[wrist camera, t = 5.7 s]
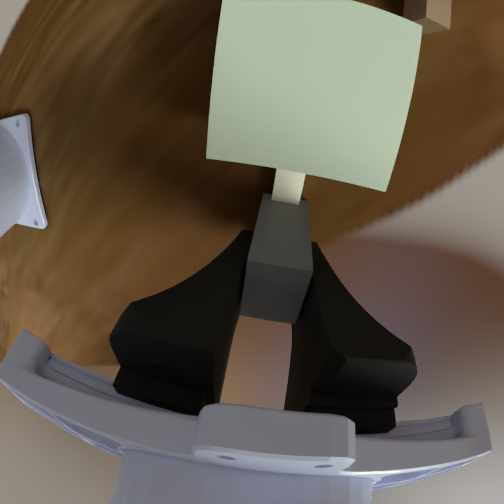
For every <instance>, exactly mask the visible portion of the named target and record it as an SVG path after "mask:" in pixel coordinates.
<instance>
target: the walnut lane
mask: <svg viewBox="0 0 504 504" xmlns="http://www.w3.org/2000/svg"><path fill="white" fill-rule="evenodd" d="M403 18H405V19H408V20H410V21H412V22H415V23H417V24H419V25H421V26H422V35H425V34H429V33H434V32H439V31H444V30H449V29H450V20H451V0H404V9H403Z"/></svg>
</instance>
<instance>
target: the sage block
mask: <svg viewBox="0 0 504 504" xmlns="http://www.w3.org/2000/svg"><path fill="white" fill-rule="evenodd" d="M421 34H422V26H421V25H419V24H417V23H415V22H412V21H410V20H408V19H405V18H403V17H400V16H398V15H395V14H392V13H390V12H387V11H384V10H381V9H378V8H375V7H372V6H369V5H366V4H363V3H359V2H356V1H352V0H222V7H221V13H220V20H219V28H218V35H217V43H216V51H215V60H214V69H213V78H212V88H211V99H210V111H209V123H208V137H207V152H206V159H214V160H223V161H231V162H238V163H245V164H252V165H259V166H265V167H271V168H277V169H276V175H275V181H274V187H273V193H272V194H266V193H263V197H262V201H261V205H260V210H259V214H258V218H257V222H256V226H255V230H254V234H253V238H252V243H251V247H250V251H249V255H248V259H247V266H246V273H245V281H244V288H243V296H242V303H241V311H240V315H242V316H247V317H253V318H259V319H265V320H271V321H277V322H283V323H290V324H295V323H296V321H297V318H298V315H299V312H300V309H301V306H302V304H303V301H304V298H305V295H306V292H307V289H308V286H309V283H310V280H311V277H312V274H313V259H312V246H311V234H310V223H309V212H308V202H307V201H305V200H300V198H301V193H302V188H303V184H304V179H305V174H310V175H315V176H320V177H324V178H329V179H334V180H338V181H343V182H347V183H351V184H356V185H360V186H364V187H368V188H372V189H376V190H380V191H383V192H386V189H387V186H388V183H389V180H390V176H391V173H392V170H393V167H394V163H395V160H396V156H397V153H398V149H399V146H400V142H401V138H402V134H403V130H404V126H405V122H406V118H407V114H408V110H409V105H410V100H411V96H412V91H413V86H414V80H415V75H416V69H417V63H418V57H419V50H420V42H421Z"/></svg>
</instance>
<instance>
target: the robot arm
mask: <svg viewBox="0 0 504 504" xmlns="http://www.w3.org/2000/svg"><path fill="white" fill-rule="evenodd" d="M15 223H17V224H21V225H26V226H30V227H35V228H40V229H44V228H45V227H46V226H47V218H46V215H45V211H44V206H43V202H42V198H41V193H40V188H39V183H38V178H37V172H36V166H35V160H34V153H33V145H32V136H31V126H30V117H29V115H28V114H27V113H24V114H19V115H15V116H11V117H8V118H4V119H1V120H0V237H1V236H2V235H3V234H4V233H5V232H6V231H7V230H9V229H10V228H11V227H12V226H13V225H14V224H15ZM253 234H254V231H249V230H242V231H241V232H240V233H239V234H238V236H237V237H236V238H235V239H234V240H233V241H232V243H231V244H230V245H229V246H228V247H227V248H226V249H225V250H224V251H223V252H222V253H221V254H220V255H218V256H217V257H216V258H215V259H214V260H213V261H211V262H210V263H209V264H208V265H207V266H205V267H204V268H203V269H201V270H200V271H198V272H197V273H195V274H194V275H193V276H191V277H189V278H188V279H186V280H184V281H183V282H181V283H179V284H177V285H175V286H173V287H171V288H169V289H167V290H164V291H162V292H160V293H157V294H155V295H152V296H149V297H146V298H143V299H140V300H137V301H134V302H131V303H130V304H129V306H128V307H127V308H126V309H125V311H124V312H123V313H122V315H121V316H120V318H119V320H118V322H117V323H116V325H115V327H114V329H113V330H112V332H111V334H110V339H109V340H110V344H111V347H112V349H113V351H114V354H115V356H116V358H117V360H118V362H119V364H120V366H121V367H120V369H119V372H118V374H117V376H116V378H115V380H112V379H110V378H107V377H105V376H102V375H99V374H97V373H95V372H92V371H90V370H87V369H85V368H83V367H81V366H78V365H76V364H74V363H72V362H70V361H67V360H65V359H63V358H61V357H59V356H57V355H55V354H53V353H52V352H51V350H50V348H49V347H48V345H47V344H46V343H45V342H44V341H43V340H42V339H40V338H39V337H37V336H35V335H33V334H31V333H29V332H27V331H26V330H22V332H21V333H20V335H19V336H18V338H17V339H16V341H15V342H14V344H13V345H12V347H11V348H10V350H9V352H8V353H7V355H6V357H5V358H4V360H3V361H2V363H1V365H0V381H1V382H2V383H3V384H4V385H5V386H6V387H7V388H8V389H9V390H10V391H11V392H12V393H13V394H15V396H17V397H18V398H19V399H20V400H21V401H22V402H23V403H24V404H26V405H27V406H28V407H30V408H31V409H33V410H34V411H36V412H37V413H39V414H40V415H42V416H43V417H45V418H47V419H48V420H50V421H51V422H53V423H55V424H56V425H58V426H59V427H61V428H63V429H64V430H66V431H68V432H70V433H71V434H73V435H75V436H77V437H79V438H80V439H82V440H84V441H86V442H88V443H90V444H92V445H94V446H96V447H98V448H100V449H102V450H104V451H106V452H108V453H111V454H113V455H115V456H117V457H120V458H122V459H123V461H122V463H121V467H120V470H119V473H118V476H117V479H116V482H115V485H114V489H113V492H112V496H111V499H110V502H109V504H371V503H372V490H375V489H382V488H387V487H392V486H397V485H401V484H406V483H410V482H414V481H418V480H422V479H426V478H430V477H433V476H436V475H439V474H443V473H446V472H449V471H453V470H455V469H457V468H460V467H462V466H464V465H466V464H468V463H470V462H472V461H474V460H476V459H478V458H480V457H482V456H484V455H485V454H487V453H489V452H491V450H492V446H491V440H490V434H489V430H488V425H487V420H486V416H485V411H484V407H483V403H481V402H480V403H475V404H470V405H466V406H463V407H461V408H460V409H458V410H457V411H455V412H454V413H453V414H452V415H449V416H443V417H436V418H429V419H421V420H413V421H402V422H396V420H395V412H394V408H396V407H397V406H398V401H397V396H398V395H399V394H400V393H402V392H403V391H404V390H405V389H406V388H407V387H408V386H409V385H410V384H411V383H412V381H413V380H414V379H415V378H416V375H417V366H416V362H415V358H414V355H413V351H412V348H411V346H409V345H408V344H406V343H405V342H403V341H402V340H400V339H399V338H398V337H396V336H395V335H393V334H392V333H391V332H389V331H388V330H387V329H386V328H384V327H383V326H382V325H381V324H380V323H378V322H377V321H376V320H375V319H374V318H373V317H372V316H371V315H369V314H368V312H366V311H365V309H363V308H362V307H361V305H360V304H359V303H357V301H356V300H355V299H354V298H353V296H352V295H351V294H350V293H349V292H348V290H347V289H346V288H345V287H344V285H343V284H342V283H341V281H340V280H339V279H338V277H337V276H336V274H335V273H334V271H333V269H332V268H331V266H330V265H329V263H328V261H327V260H326V258H325V256H324V255H323V253H322V251H321V249H320V248H319V246H318V244H317V243H316V242H312V241H311V246H312V259H313V274H312V277H311V280H310V283H309V286H308V289H307V292H306V295H305V298H304V301H303V304H302V306H301V309H300V312H299V315H298V318H297V321H296V323H295V324H292V350H291V359H290V368H289V376H288V384H287V392H286V398H285V405H284V410H276V409H269V408H261V407H255V406H247V405H242V404H230V403H220V398H221V393H222V388H223V383H224V378H225V373H226V368H227V364H228V359H229V353H230V349H231V344H232V340H233V335H234V332H235V328H236V325H237V322H238V319H239V316H240V311H241V303H242V296H243V288H244V281H245V273H246V266H247V259H248V255H249V251H250V247H251V243H252V238H253Z"/></svg>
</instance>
